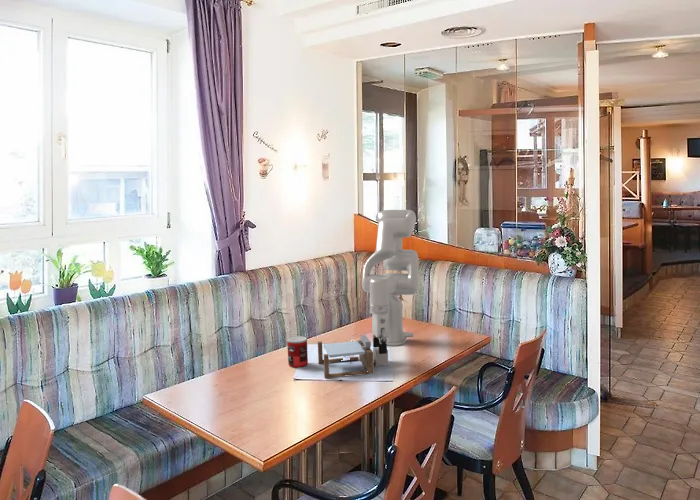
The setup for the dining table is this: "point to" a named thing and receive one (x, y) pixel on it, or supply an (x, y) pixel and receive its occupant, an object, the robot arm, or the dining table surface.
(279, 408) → the dining table surface
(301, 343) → the canned food
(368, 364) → the frame
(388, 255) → the robot arm
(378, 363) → the light grey block
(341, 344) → the trapdoor
